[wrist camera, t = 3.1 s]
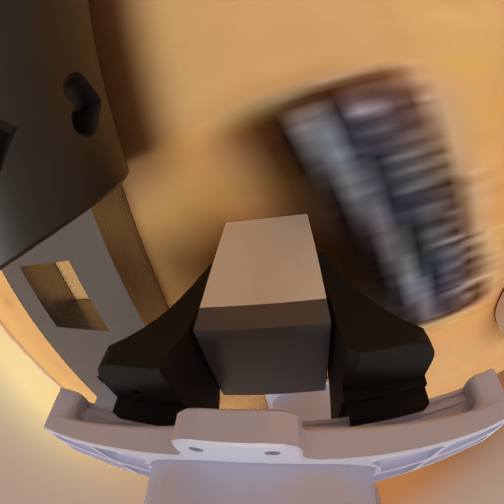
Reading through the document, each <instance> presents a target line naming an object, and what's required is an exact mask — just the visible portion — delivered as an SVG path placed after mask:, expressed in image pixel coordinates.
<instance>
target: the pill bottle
mask: <svg viewBox="0 0 504 504" xmlns="http://www.w3.org/2000/svg"><path fill="white" fill-rule="evenodd" d="M495 317H496V322H497V324H498V326H499V329H500V330H501V332H502V334H503V336H504V291H503V293H502V295H501V297H500V299H499V301H498V304H497V307H496V312H495Z"/></svg>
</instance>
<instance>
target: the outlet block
mask: <svg viewBox="0 0 504 504" xmlns="http://www.w3.org/2000/svg"><path fill="white" fill-rule="evenodd" d="M67 260H69V261H70V263H71V265H72V267H73V269H74V271H75V273H76V275H77V277H78V279H79V281H80V282H81V284H82V286H83V288H84V290H85V291H86V293H87V295H88V297H89V299H90V300H75V298H74V297H73V295H72V293H71V291H70V290H69V288H68V286H67V284H66V283H65V281H64V279H63V277H62V275H61V273H60V272H59V270H58V268H57V266H56V264H55V262H59V261H67ZM2 272H3V274H4V275H5V277H6V279H7V281H8V283H9V284H10V286H11V288H12V289H13V291H14V293H15V294H16V296H17V297H18V299H19V301H20V302H21V304H22V305H23V307H24V308H25V310H26V311H27V313H28V314H29V316H30V317H31V319H32V320H33V322H34V323H35V324H36V326H37V327H38V329H39V330H40V331H41V333H42V334H43V335H44V337H45V338H46V339H47V341H48V342H49V343H50V344H51V346H52V347H53V348H54V349H55V351H56V352H57V353H58V354H59V355H60V357H61V358H62V359H63V360H64V361H65V363H66V364H67V365H68V366H69V367H70V368H71V369H72V371H73V372H74V373H75V374H76V375H77V376H78V377H79V378H80V379H81V380H82V381H83V383H84V384H85V385H86V386H87V387H88V388H89V389H90V390H91V391H92V392H93V393H94V394H95V395H96V396H97V397H98V394H99V392H100V389H101V387H102V385H103V381H102V380H101V378H100V377H99V374H98V367H99V365H100V363H101V361H102V358H103V356H104V354H105V352H106V350H107V348H108V346H109V345H112V344H114V343H116V342H118V341H120V340H122V339H124V338H126V337H128V336H130V335H132V334H134V333H135V332H137V331H139V330H141V329H142V328H144V327H145V326H147V325H148V324H150V323H151V322H152V321H154V320H155V319H157V318H158V317H159V316H161V315H162V314H163V313H165V312H166V311H167V310H168V309H169V307H168V305H167V303H166V301H165V298H164V296H163V294H162V291H161V289H160V287H159V285H158V282H157V280H156V277H155V275H154V273H153V270H152V268H151V265H150V263H149V260H148V258H147V255H146V253H145V250H144V248H143V245H142V242H141V240H140V237H139V234H138V232H137V229H136V226H135V223H134V220H133V218H132V215H131V212H130V209H129V206H128V203H127V200H126V197H125V194H124V191H123V188H122V185H120V186H118V187H117V188H116V189H115V190H114V191H113V192H112V193H110V194H109V195H108V196H106V197H105V198H104V199H102V200H101V201H100V202H98V203H97V204H96V205H95V206H93V207H92V208H90V209H89V210H87V211H86V212H85V213H83V214H82V215H80V216H79V217H78V218H76V219H75V220H73V221H72V222H71V223H69V224H68V225H66V226H65V227H63V228H62V229H60V230H59V231H57V232H56V233H55V234H53V235H52V236H50V237H49V238H48V239H46V240H45V241H43V242H42V243H40V244H39V245H37V246H36V247H34V248H33V249H31V250H30V251H28V252H27V253H25V254H24V255H23V256H21V257H20V258H18V259H16V260H15V261H13V262H12V263H10V264H9V265H7V266H6V267H4V268H3V269H2Z"/></svg>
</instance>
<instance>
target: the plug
mask: <svg viewBox="0 0 504 504" xmlns="http://www.w3.org/2000/svg"><path fill="white" fill-rule="evenodd" d="M330 331H331V319H330V314H329V309H328V304H327V299H326V294H325V289H324V284H323V279H322V275H321V270H320V266H319V261H318V257H317V252H316V248H315V244H314V239H313V235H312V231H311V227H310V223H309V219H308V215H307V214H301V215H291V216H281V217H271V218H262V219H252V220H244V221H235V222H226V224H225V227H224V230H223V233H222V236H221V239H220V243H219V246H218V249H217V252H216V255H215V258H214V262H213V265H212V268H211V271H210V275H209V278H208V281H207V285H206V288H205V291H204V295H203V298H202V301H201V305H200V308H199V312H198V315H197V319H196V322H195V326H194V329H193V332H194V334H195V336H196V338H197V341H198V343H199V345H200V347H201V349H202V352H203V354H204V356H205V358H206V360H207V362H208V364H209V366H210V368H211V371H212V373H213V375H214V377H215V379H216V381H217V383H218V385H219V387H220V389H221V391H222V393H223V395H264V394H287V393H301V392H313V391H323V390H325V389H326V380H327V370H328V358H329V346H330Z"/></svg>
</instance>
